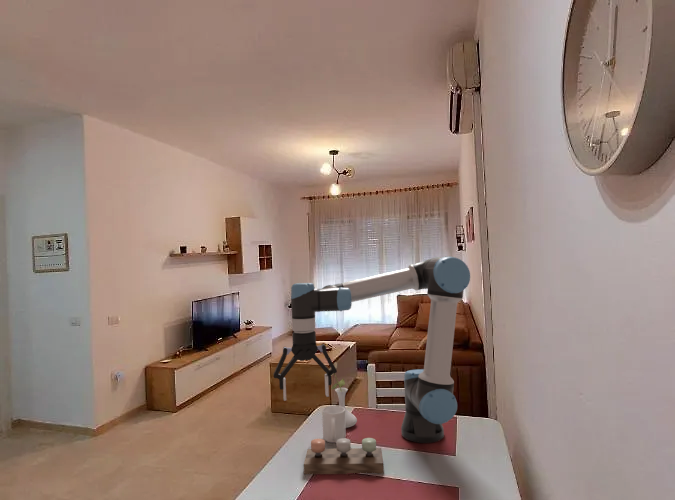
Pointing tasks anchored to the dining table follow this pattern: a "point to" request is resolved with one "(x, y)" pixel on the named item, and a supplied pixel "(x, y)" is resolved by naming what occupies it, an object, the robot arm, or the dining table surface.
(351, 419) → the flower in vase
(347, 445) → the grey egg
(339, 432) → the mug
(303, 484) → the dining table surface
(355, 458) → the cardboard egg tray
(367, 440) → the sage egg
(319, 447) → the orange egg
